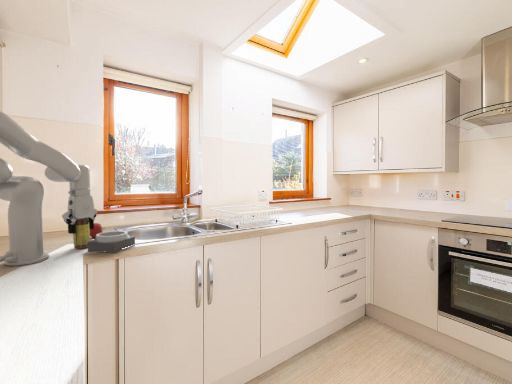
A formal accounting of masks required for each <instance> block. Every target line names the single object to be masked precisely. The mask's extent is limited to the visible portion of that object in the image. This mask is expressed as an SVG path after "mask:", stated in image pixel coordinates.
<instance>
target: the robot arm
mask: <svg viewBox="0 0 512 384" xmlns="http://www.w3.org/2000/svg"><path fill="white" fill-rule="evenodd" d="M0 144H2V146H4V147H5V148H7V149H8V150H10V151H12V152H13V153H14V154H15V155H17V156H18V157H21V158H23V159H26V160H28V161H33V162H36V163H39V164H41V165H43V166H45V167H46V168H45V169H44V176H45V177H46V178H47V179H48V180H49V181H52V182H55V183H56V182H57V183H64V182H65V183H68V184H69V190H68V194H69V196H68V201H67V211H66V212H64V213H63V214H62V215H61V217H62V219H63V221H64V222H65V224H66V225H67V231H68V234H72V235H73V234H75V233H76V227H75V224H74V223H75V221H76V220H77V219H84V218H88V220H89V229H94V223H95V220H96V217H97V213H98V212H99V211H98V209H96V208H95V204H94V199H93V196H92V195H91V178H90V177H91V175H90V166H88V165H85V164H76V163H75V162H74V161H73V160H72V159H71V158H69V157H68V156H67V155H66V154H64V153H62V152H61V151H59V150H58V149H55V148H54V147H52V146H50V145H48V144H47V143H44V142H42V141H40V140H39V139H37V138H36V137H35V136H33V134H31V133H30V132H29V131H27V129H25V128H23V127H22V126H21V125H20V124H19V123H18V122H16V121H15V120H14V119H12V118H11V117H10V116H9V115H8V114H6V113H5V112H2V111H0ZM13 174H14V169H13V167H12V166H11V164H10V163H9V162H7V161H6V160H4V159H3V158H1V157H0V199H1V200H3V201H6V202H9V205H8V209H7V224H8V228H7V229H8V246H9V247H8V248H9V250H8V251H6V252H5V254H3V255H0V263H1V262H3V264H4V266H9V267H12V266H23V265H24V266H25V265H31V264H35V263H39V262H43V261H45V260H47V259H49V257H50V254H49V253H47V252H44V251H45V249H44V233H43V231H44V229H43V227H44V226H43V200H44V194H45V187H44V186H43V183H42V182H41V181H40V180H38V179H37V178H35V177H32V176H25V175H24V176H21V175H19V176H18V175H17V176H15V175H13Z"/></svg>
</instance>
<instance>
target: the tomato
mask: <svg viewBox="0 0 512 384" xmlns="http://www.w3.org/2000/svg"><path fill="white" fill-rule="evenodd" d="M104 229H106V228H105V227H104V228H103V227H102V225H101V223H98V222H94V229H90V238H91V239H96V235H97V234H99V233H102V232H103V230H104Z"/></svg>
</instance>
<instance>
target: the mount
mask: <svg viewBox="0 0 512 384" xmlns="http://www.w3.org/2000/svg"><path fill="white" fill-rule="evenodd" d="M128 235H129V234H128V231H125V230H110V231H102V233H99V234H97V235H96V238H90V241H89V242H88V247H87V251H88V252H92V251H106V252H105V253H107V252H108V253H111V254H115V253H118V252H121V251H122V250H121V249H122V248H125V247H128V246H131V245H133V244H135V245H136V238H135V237H136V236H130V235H129V236H128ZM131 247H132V246H131ZM120 250H121V251H120Z"/></svg>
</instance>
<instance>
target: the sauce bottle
mask: <svg viewBox="0 0 512 384" xmlns="http://www.w3.org/2000/svg"><path fill="white" fill-rule="evenodd" d="M74 224H75V227H76V233H75V234H72V239H73V247H74V249H77V250H82V249H88V242H89V241H90V240H91V237H90V229H89V220H88V218H84V219H77V220H76V221H75V223H74Z"/></svg>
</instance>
